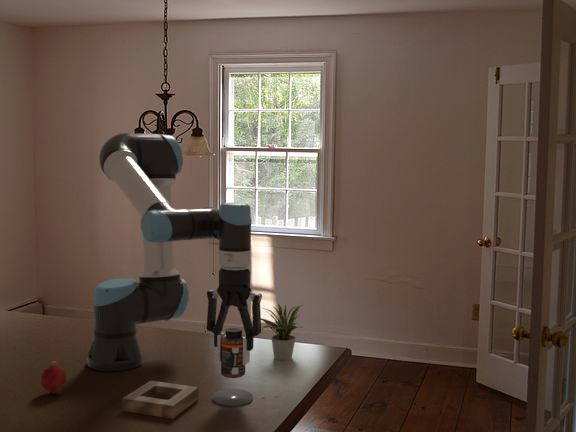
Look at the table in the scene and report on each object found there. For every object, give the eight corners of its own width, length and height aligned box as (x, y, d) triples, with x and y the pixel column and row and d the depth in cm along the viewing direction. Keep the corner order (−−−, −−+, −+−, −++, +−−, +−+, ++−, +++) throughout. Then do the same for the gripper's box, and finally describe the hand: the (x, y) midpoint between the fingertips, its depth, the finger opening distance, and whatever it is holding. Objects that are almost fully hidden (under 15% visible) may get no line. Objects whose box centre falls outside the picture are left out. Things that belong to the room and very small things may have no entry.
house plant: (281, 346, 211) (282, 295, 209) (317, 356, 202) (318, 302, 200) (250, 357, 200) (251, 302, 198) (286, 367, 191) (288, 310, 189)
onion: (51, 399, 163) (51, 367, 162) (35, 394, 166) (35, 362, 165) (71, 392, 168) (70, 360, 167) (55, 387, 171) (55, 356, 170)
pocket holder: (122, 410, 157) (122, 398, 156) (150, 392, 169) (150, 380, 169) (173, 418, 153) (173, 405, 152) (198, 399, 165) (198, 387, 165)
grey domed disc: (205, 402, 163) (205, 400, 163) (221, 389, 172) (221, 386, 172) (243, 408, 160) (244, 406, 160) (258, 394, 169) (258, 392, 169)
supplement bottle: (241, 380, 162) (242, 333, 161) (217, 377, 163) (218, 331, 162) (248, 372, 168) (248, 327, 167) (224, 370, 169) (225, 325, 168)
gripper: (191, 267, 162) (191, 361, 164) (266, 272, 156) (264, 370, 159) (205, 262, 169) (204, 353, 172) (277, 267, 164) (275, 361, 166)
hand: (233, 361), depth 165 cm, fingers closed on supplement bottle, 6 cm apart
